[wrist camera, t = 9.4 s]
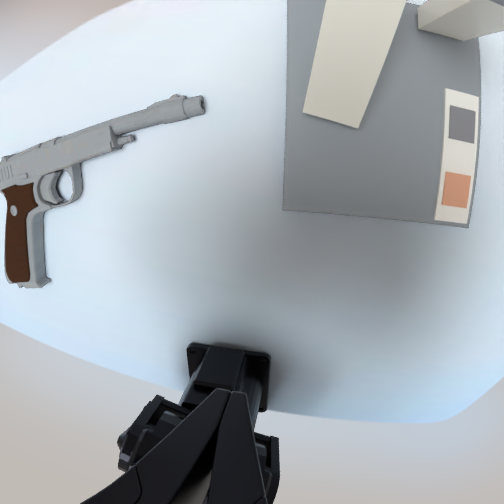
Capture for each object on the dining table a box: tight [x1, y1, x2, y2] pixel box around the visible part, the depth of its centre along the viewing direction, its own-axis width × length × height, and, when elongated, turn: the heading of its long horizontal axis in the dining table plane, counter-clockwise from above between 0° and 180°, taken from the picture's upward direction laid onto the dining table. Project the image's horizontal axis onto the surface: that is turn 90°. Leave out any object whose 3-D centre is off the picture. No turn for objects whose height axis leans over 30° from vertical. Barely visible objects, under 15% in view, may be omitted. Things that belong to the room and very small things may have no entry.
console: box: [283, 0, 481, 228], centre depth 16 cm, size 14×12×1 cm
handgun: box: [0, 94, 205, 288], centre depth 22 cm, size 2×23×12 cm
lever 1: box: [303, 0, 407, 128], centre depth 11 cm, size 2×3×10 cm
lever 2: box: [417, 0, 504, 41], centre depth 8 cm, size 2×3×10 cm, turn 89°
